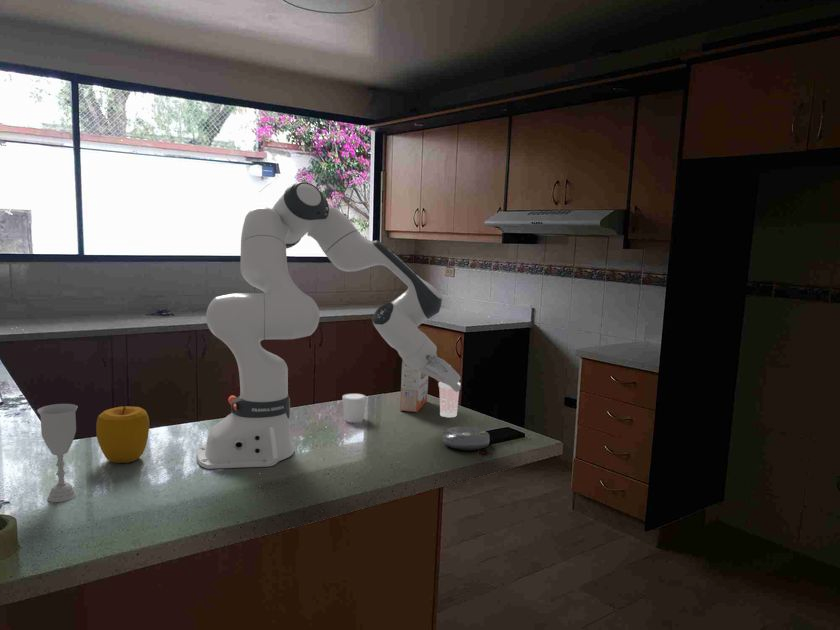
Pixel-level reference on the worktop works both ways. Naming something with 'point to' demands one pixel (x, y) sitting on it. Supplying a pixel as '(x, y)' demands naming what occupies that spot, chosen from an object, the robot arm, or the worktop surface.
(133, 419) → the apple
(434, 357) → the robot arm
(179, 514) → the worktop surface
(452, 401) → the beverage cup
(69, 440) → the chalice
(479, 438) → the turntable
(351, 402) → the white short cylinder
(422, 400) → the cracker box
